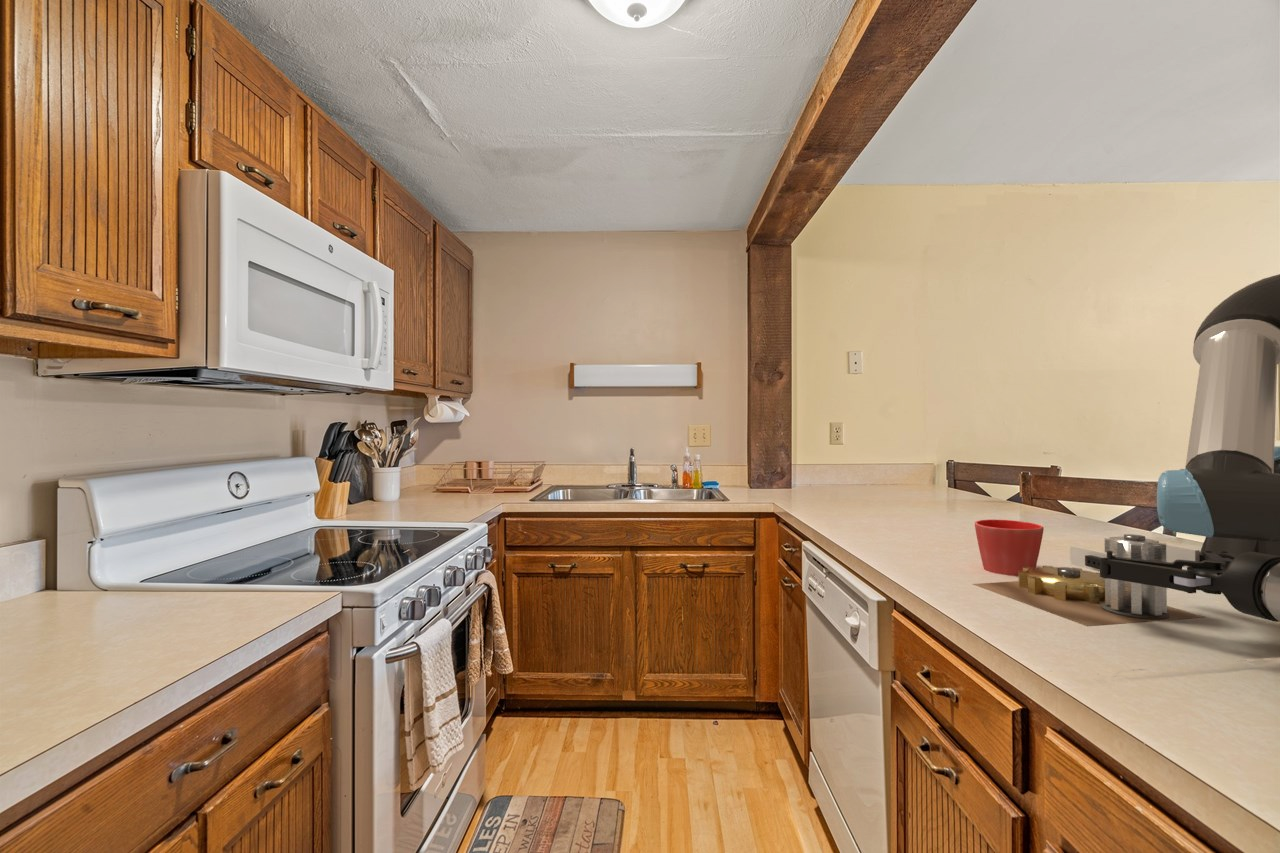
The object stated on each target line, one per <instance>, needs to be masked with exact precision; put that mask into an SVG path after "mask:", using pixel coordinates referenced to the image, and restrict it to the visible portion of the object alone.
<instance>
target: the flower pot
mask: <svg viewBox="0 0 1280 853" xmlns="http://www.w3.org/2000/svg"><path fill="white" fill-rule="evenodd" d="M974 527H975V528H974V530H975V535H976V539H977V545H978V550H979V554H980V559H981V563H982V566H983V570H985V571H987V572H989V573H994V574H997V575H1003V576H1013V577H1015V576H1016V577H1018V571H1023V567H1033V568H1037V563H1038V559H1039V556H1040V551H1041V546H1042V541H1043V535H1044V528H1045V527H1044V526H1043V525H1041V524H1038V523H1033V522H1029V521H1028V522H1027V521H1021V520H1013V519H979V520H976V521H975V522H974Z"/></svg>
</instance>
